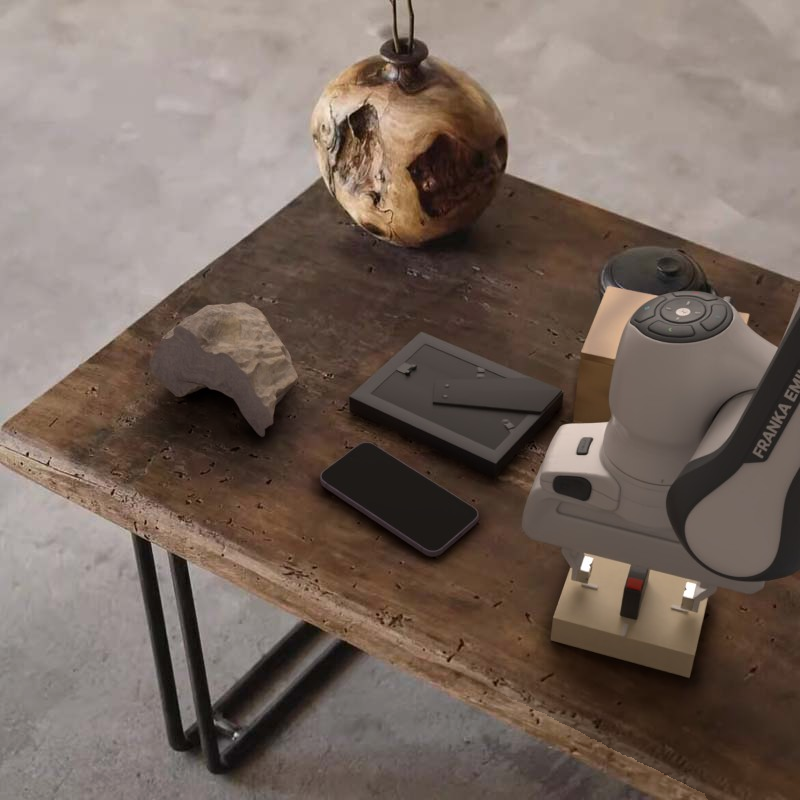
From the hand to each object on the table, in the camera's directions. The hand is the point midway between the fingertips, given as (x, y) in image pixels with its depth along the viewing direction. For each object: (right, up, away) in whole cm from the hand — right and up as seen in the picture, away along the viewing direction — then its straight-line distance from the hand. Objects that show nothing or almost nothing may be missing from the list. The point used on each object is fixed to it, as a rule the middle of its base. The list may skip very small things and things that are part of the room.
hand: (635, 591), depth 113 cm
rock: (-36, +18, +27) cm, 49 cm away
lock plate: (0, -3, +3) cm, 4 cm away
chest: (+6, +16, +24) cm, 30 cm away
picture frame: (-14, +15, +24) cm, 32 cm away
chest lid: (+6, +22, +18) cm, 30 cm away
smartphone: (-20, +6, +14) cm, 25 cm away
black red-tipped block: (0, -1, +1) cm, 1 cm away
